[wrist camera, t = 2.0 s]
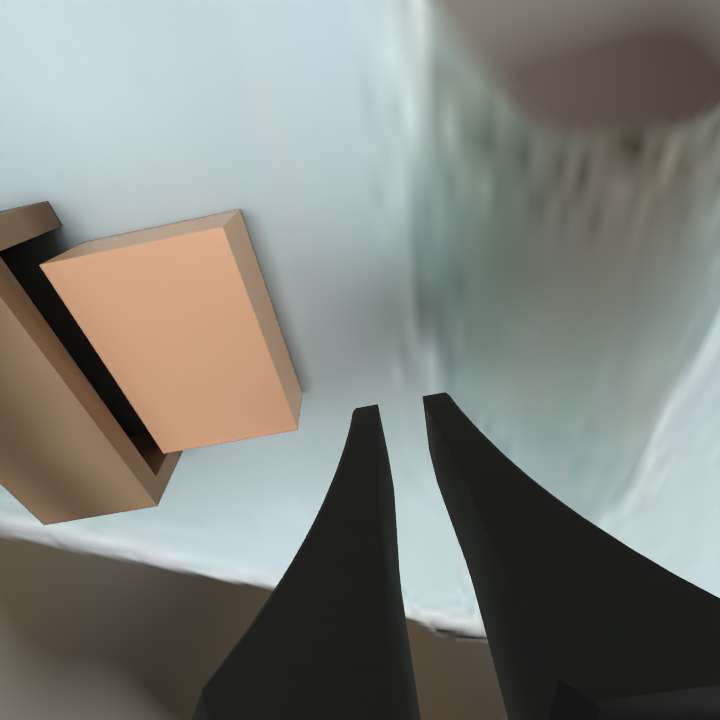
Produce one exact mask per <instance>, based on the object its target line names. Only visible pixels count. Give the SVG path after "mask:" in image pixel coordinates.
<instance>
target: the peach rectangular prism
mask: <svg viewBox="0 0 720 720" xmlns="http://www.w3.org/2000/svg"><path fill="white" fill-rule="evenodd" d="M39 266H40V267H41V269H42V270H43V272H44V273H45V275H46V276H47V278H48V279H49V281H50V282H51V284H52V285H53V287H54V288H55V290H56V291H57V293H58V294H59V296H60V297H61V299H62V300H63V302H64V304H65V305H66V307H67V308H68V310H69V311H70V313H71V314H72V316H73V317H74V319H75V320H76V322H77V323H78V325H79V326H80V328H81V329H82V331H83V332H84V334H85V335H86V337H87V338H88V340H89V341H90V343H91V344H92V346H93V347H94V349H95V350H96V352H97V354H98V355H99V357H100V358H101V360H102V361H103V363H104V364H105V366H106V367H107V369H108V370H109V372H110V373H111V375H112V376H113V378H114V379H115V381H116V382H117V384H118V385H119V387H120V388H121V390H122V391H123V393H124V394H125V396H126V397H127V399H128V400H129V402H130V404H131V405H132V407H133V408H134V410H135V411H136V413H137V414H138V416H139V417H140V419H141V420H142V422H143V423H144V425H145V426H146V428H147V429H148V431H149V432H150V434H151V435H152V437H153V438H154V440H155V441H156V443H157V444H158V446H159V447H160V449H161V450H162V452H163V454H164V453H170V452H175V451H181V450H187V449H192V448H198V447H204V446H209V445H215V444H221V443H226V442H232V441H238V440H243V439H249V438H255V437H260V436H266V435H272V434H277V433H283V432H288V431H294V430H298V424H299V416H300V408H301V400H302V391H301V388H300V385H299V382H298V379H297V376H296V373H295V370H294V367H293V364H292V361H291V358H290V355H289V352H288V349H287V346H286V343H285V340H284V338H283V335H282V332H281V329H280V326H279V323H278V320H277V317H276V314H275V311H274V308H273V305H272V302H271V299H270V296H269V293H268V290H267V287H266V284H265V281H264V278H263V275H262V272H261V270H260V267H259V264H258V261H257V258H256V255H255V252H254V249H253V246H252V243H251V240H250V237H249V234H248V231H247V228H246V225H245V222H244V219H243V216H242V213H241V210H235V211H230V212H225V213H221V214H216V215H211V216H206V217H202V218H197V219H192V220H187V221H183V222H178V223H173V224H168V225H163V226H159V227H154V228H149V229H144V230H140V231H135V232H130V233H125V234H121V235H116V236H111V237H106V238H102V239H97V240H92V241H87V242H84V243H82V244H80V245H78V246H76V247H74V248H72V249H70V250H68V251H66V252H64V253H62V254H60V255H58V256H56V257H54V258H52V259H50V260H48V261H46V262H44V263H42V264H40V265H39Z"/></svg>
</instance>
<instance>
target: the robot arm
mask: <svg viewBox="0 0 720 720" xmlns="http://www.w3.org/2000/svg"><path fill="white" fill-rule="evenodd" d="M423 403H424V411H425V419H426V427H427V435H428V444H429V451H430V455H431V459H432V463H433V467H434V471H435V475H436V479H437V483H438V486H439V489H440V491H441V494H442V497H443V500H444V502H445V505H446V508H447V511H448V514H449V516H450V519H451V522H452V525H453V527H454V530H455V533H456V536H457V538H458V541H459V544H460V547H461V549H462V552H463V555H464V558H465V560H466V563H467V567H468V570H469V573H470V576H471V579H472V583H473V586H474V590H475V594H476V598H477V601H478V605H479V609H480V612H481V616H482V620H483V624H484V628H485V631H486V635H487V639H488V643H489V646H490V650H491V654H492V658H493V662H494V665H495V669H496V673H497V677H498V681H499V685H500V689H501V693H502V697H503V701H504V705H505V709H506V712H507V717H508V720H720V598H718V597H716V596H714V595H712V594H711V593H709V592H707V591H705V590H703V589H701V588H699V587H697V586H695V585H694V584H692V583H690V582H688V581H686V580H684V579H682V578H680V577H679V576H677V575H675V574H673V573H672V572H670V571H668V570H666V569H665V568H663V567H661V566H660V565H658V564H656V563H654V562H653V561H651V560H649V559H648V558H646V557H644V556H643V555H641V554H639V553H638V552H636V551H634V550H633V549H631V548H629V547H628V546H626V545H625V544H623V543H622V542H620V541H619V540H617V539H616V538H614V537H612V536H611V535H609V534H608V533H606V532H605V531H603V530H602V529H600V528H599V527H597V526H596V525H594V524H593V523H591V522H589V521H588V520H586V519H585V518H583V517H582V516H580V515H579V514H578V513H576V512H575V511H573V510H572V509H571V508H569V507H568V506H567V505H565V504H564V503H562V502H561V501H560V500H558V499H557V498H556V497H554V496H553V495H552V494H550V493H549V492H548V491H547V490H545V489H544V488H543V487H541V486H540V485H539V484H538V483H536V482H535V481H534V480H533V479H531V478H530V477H529V476H528V475H527V474H525V473H524V472H523V471H522V470H521V469H520V468H519V467H517V466H516V465H515V464H514V463H513V462H512V461H511V460H509V459H508V458H507V457H506V456H505V455H504V454H503V453H502V452H501V451H500V450H499V449H498V448H497V447H496V446H495V445H494V444H493V443H492V442H491V441H490V440H488V439H487V438H486V437H485V436H484V435H483V434H482V433H481V432H480V430H479V429H478V428H477V427H476V426H475V425H474V424H473V423H472V422H471V421H470V420H469V419H468V417H467V416H466V415H465V414H464V413H463V412H462V411H461V409H460V408H459V407H458V406H457V405H456V403H455V402H454V401H453V400H452V398H451V397H450V395H448V394H447V393H439V394H434V395H428V396H423ZM192 720H421V718H420V711H419V705H418V699H417V692H416V685H415V679H414V672H413V665H412V659H411V652H410V646H409V639H408V633H407V626H406V619H405V612H404V605H403V598H402V592H401V583H400V573H399V559H398V543H397V528H396V512H395V497H394V487H393V481H392V475H391V469H390V463H389V457H388V452H387V447H386V442H385V437H384V432H383V427H382V423H381V418H380V413H379V408H378V405H372V406H366V407H361V408H356V409H355V410H354V411H353V414H352V420H351V425H350V429H349V433H348V437H347V440H346V444H345V447H344V450H343V453H342V456H341V459H340V462H339V465H338V468H337V470H336V473H335V476H334V478H333V480H332V483H331V485H330V488H329V490H328V492H327V495H326V497H325V500H324V502H323V504H322V506H321V508H320V510H319V513H318V515H317V517H316V519H315V521H314V523H313V525H312V526H311V528H310V530H309V532H308V534H307V536H306V538H305V540H304V542H303V543H302V545H301V547H300V549H299V550H298V552H297V554H296V556H295V557H294V559H293V561H292V563H291V564H290V566H289V568H288V569H287V571H286V572H285V574H284V576H283V577H282V579H281V580H280V582H279V583H278V585H277V586H276V588H275V589H274V591H273V592H272V594H271V595H270V597H269V599H268V600H267V602H266V603H265V604H264V606H263V607H262V609H261V610H260V612H259V613H258V615H257V616H256V618H255V619H254V621H253V622H252V623H251V625H250V626H249V628H248V629H247V630H246V632H245V633H244V635H243V636H242V637H241V638H240V640H239V641H238V642H237V644H236V645H235V646H234V648H233V649H232V650H231V651H230V653H229V654H228V656H227V657H226V658H225V659H224V661H223V662H222V663H221V665H220V666H219V667H218V668H217V670H216V671H215V672H214V674H213V675H212V676H211V678H210V679H209V680H208V681H207V683H206V684H205V686H204V687H203V688H202V691H201V693H200V696H199V699H198V702H197V705H196V708H195V711H194V714H193V717H192Z"/></svg>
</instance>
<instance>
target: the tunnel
mask: <svg viewBox="0 0 720 720" xmlns="http://www.w3.org/2000/svg"><path fill="white" fill-rule="evenodd" d="M61 226H62V225H61V223H60V221H59V220H58V218H57V216H56V215H55V213H54V211H53V209H52V208H51V206H50V204H49V203H48V201H46V202H41V203H37V204H32V205H27V206H23V207H18V208H14V209H9V210H4V211H0V251H1V250H4V249H6V248H9V247H11V246H14V245H16V244H19V243H21V242H24V241H26V240H29V239H31V238H34V237H36V236H38V235H41V234H43V233H46V232H48V231H51V230H53V229H56V228H58V227H61ZM182 451H183V450H181V451H175V452H170V453H164V454H163V452H162V450H161V449H160V447H159V446H158V444H157V443H156V441H155V440H154V438H153V437H152V435H151V434H150V432H148V433H142V434H137V435H131V436H127V435H126V433H125V432H124V431H123V429H122V428H121V426H120V425H119V424H118V422H117V421H116V419H115V418H114V417H113V415H112V414H111V412H110V411H109V409H108V408H107V407H106V405H105V404H104V402H103V401H102V400H101V398H100V397H99V395H98V394H97V393H96V391H95V390H94V388H93V387H92V385H91V384H90V383H89V381H88V380H87V378H86V377H85V376H84V374H83V373H82V371H81V370H80V369H79V367H78V366H77V364H76V363H75V361H74V360H73V359H72V357H71V356H70V354H69V353H68V352H67V350H66V349H65V347H64V346H63V344H62V343H61V342H60V340H59V339H58V337H57V336H56V335H55V333H54V332H53V330H52V329H51V328H50V326H49V325H48V323H47V322H46V320H45V319H44V318H43V316H42V315H41V313H40V312H39V311H38V309H37V308H36V306H35V305H34V304H33V302H32V301H31V299H30V298H29V296H28V295H27V294H26V292H25V291H24V289H23V288H22V287H21V285H20V284H19V282H18V281H17V280H16V278H15V277H14V275H13V274H12V272H11V271H10V270H9V268H8V267H7V265H6V264H5V263H4V261H3V260H2V258H1V257H0V484H1V485H2V486H3V487H4V488H5V489H7V490H8V491H9V492H10V493H11V494H12V495H13V496H14V497H15V498H16V499H17V500H18V501H19V502H20V503H21V504H22V505H23V506H24V507H25V508H27V509H28V510H29V511H30V512H31V513H32V514H33V515H34V516H35V517H36V518H37V519H38V520H39V521H40V522H41V523H42V524H43V525H48V524H54V523H60V522H66V521H72V520H78V519H84V518H90V517H95V516H101V515H107V514H113V513H119V512H125V511H131V510H137V509H143V508H149V507H155V506H158V504H159V502H160V500H161V497H162V495H163V493H164V491H165V489H166V486H167V484H168V482H169V480H170V478H171V475H172V473H173V471H174V469H175V467H176V464H177V462H178V460H179V458H180V456H181V453H182Z"/></svg>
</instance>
